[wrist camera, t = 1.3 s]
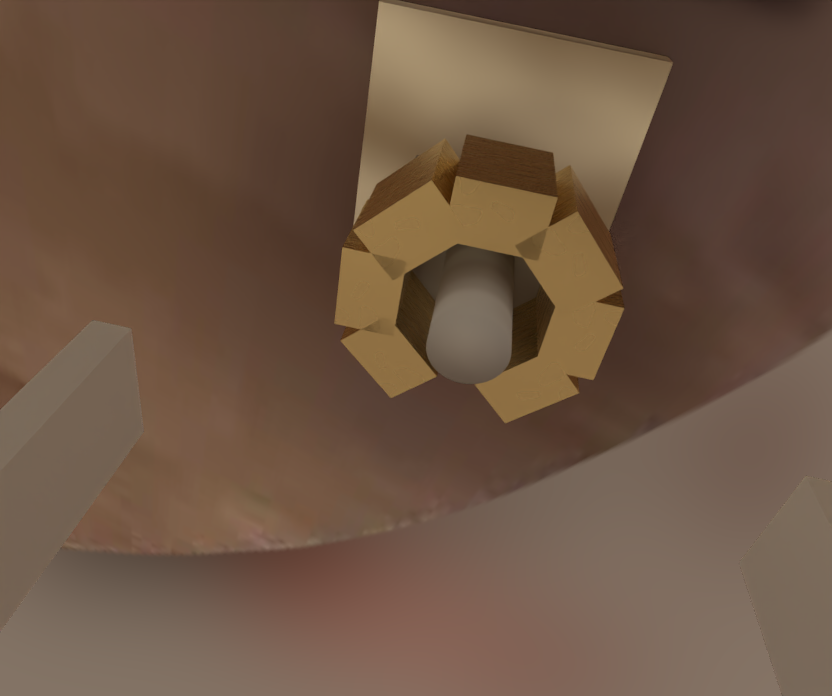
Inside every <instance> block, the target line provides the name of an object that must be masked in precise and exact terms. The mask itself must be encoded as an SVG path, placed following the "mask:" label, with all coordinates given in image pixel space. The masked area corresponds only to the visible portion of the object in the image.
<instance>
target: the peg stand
mask: <svg viewBox="0 0 832 696" xmlns="http://www.w3.org/2000/svg"><path fill="white" fill-rule="evenodd" d="M672 65H673V62H672V61H671V60H670V59H669V58H668V57H667V56H662V55H657V54H653V53H648V52H643V51H638V50H634V49H629V48H624V47H619V46H614V45H610V44H605V43H600V42H595V41H591V40H586V39H581V38H576V37H571V36H567V35H562V34H557V33H552V32H548V31H543V30H538V29H533V28H528V27H524V26H519V25H514V24H509V23H505V22H500V21H495V20H490V19H485V18H481V17H476V16H471V15H466V14H461V13H457V12H452V11H447V10H442V9H438V8H433V7H428V6H423V5H418V4H414V3H409V2H404V1H399V0H380V1H379V6H378V15H377V24H376V33H375V41H374V50H373V59H372V68H371V76H370V85H369V94H368V102H367V111H366V120H365V129H364V137H363V146H362V155H361V164H360V172H359V181H358V190H357V199H356V207H355V216H354V224H355V222H356V220H357V218H358V216H359V214H360V212H361V210H362V208H363V206H364V205H365V203H366V201H367V199H369V198H370V196H371V194H372V192H373V190H374V188H375V186H376V184H377V183H379V182H380V181H382V180H383V179H385V178H386V177H388V176H389V175H391V174H392V173H394V172H395V171H397V170H398V169H400V168H401V167H403V166H404V165H406V164H407V163H409V162H410V161H412V160H413V159H415V158H416V157H418V156H419V155H421V154H422V153H424V152H425V151H427V150H428V149H430V148H431V147H433V146H434V145H436V144H437V143H439V142H440V141H442V140H443V139H445V138H446V140H447V141H448V143H449V144H450V146H451V147H452V149H453V150H454V152H455V153H456V155H457V156H458V158H459V159H460V157H461V153H462V149H463V145H464V141H465V137H466V134H468V135H473V136H477V137H482V138H487V139H491V140H496V141H501V142H506V143H510V144H515V145H520V146H524V147H529V148H534V149H538V150H543V151H548V152H553V154H554V164H555V173H557V172H558V171H560V170H562V169H564V168H565V167H567V166H569V165H571V167H572V169H573V170H574V172H575V174H576V176H577V177H578V179H579V181H580V182H581V184H582V186H583V188H584V189H585V191H586V193H587V195H588V196H589V198H590V200H591V201H592V203H593V205H594V207H595V208H596V210H597V212H598V214H599V215H600V217H601V219H602V220H603V222H604V224H605V226H606V227H607V229H608V231H609V230H610V227H611V224H612V222H613V219H614V217H615V214H616V211H617V209H618V206H619V204H620V201H621V198H622V196H623V193H624V190H625V188H626V185H627V183H628V180H629V177H630V175H631V172H632V169H633V167H634V164H635V162H636V159H637V156H638V154H639V151H640V149H641V146H642V143H643V141H644V138H645V135H646V133H647V130H648V128H649V125H650V122H651V120H652V117H653V114H654V112H655V109H656V107H657V104H658V101H659V99H660V96H661V93H662V91H663V88H664V86H665V83H666V80H667V78H668V75H669V73H670V70H671V67H672ZM353 226H354V225H353ZM412 271H413V272H414V274H415V275H416V276H417V278H418V279H419V280H420V282H421V283H422V284H423V286H424V287H425V288H426V289H427V291H428V292H429V293H430V295H431V296H432V297H433V299H434V300H435V301H436V302H435V307H434V311H433V316H432V320H431V325H430V329H429V334H428V338H427V344H426V352H427V356H428V359H429V361H430V363H431V365H432V366H433V367H434V368H435V370H436V371H437V372H439V373H440V374H441V375H443V376H444V377H446V378H448V379H450V380H452V381H455V382H458V383H463V384H479V383H484V382H487V381H490V380H492V379H494V378H496V377H497V376H499V375H500V374H501V373H502V372H503V371H504V370H505V369H506V367H507V366H508V364H509V361H510V358H511V350H512V320H513V309H514V308H516V307H518V306H520V305H522V304H524V303H526V302H528V301H530V300H532V299H534V298H536V297H537V294H538V290H539V287H540V283H539V281H538V280H537V278H536V277H535V275H534V274H533V272H532V271H531V269H530V268H529V266H528V265H527V263H526V262H525V260H524V259H523V257H518V256H513V255H509V254H504V253H499V252H495V251H490V250H485V249H481V248H476V247H471V246H467V245H462V244H458V243H457V244H456V245H454V246H452V247H450V248H449V249H447V250H445V251H443V252H442V253H440V254H438V255H436V256H435V257H433V258H431V259H429V260H428V261H426V262H424V263H422V264H421V265H419V266H417V267H415V268H414V269H412Z"/></svg>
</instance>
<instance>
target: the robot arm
mask: <svg viewBox="0 0 832 696" xmlns="http://www.w3.org/2000/svg"><path fill="white" fill-rule="evenodd" d="M143 432H144V430H143V421H142V413H141V405H140V396H139V388H138V380H137V371H136V363H135V355H134V346H133V338H132V330H131V328H127V327H122V326H118V325H113V324H109V323H104V322H100V321H95V320H92V321H91V322H90V323H89V324H88V325H87V326H86V327H85V328H84V329H83V330H82V331H81V332H80V333H79V334H78V335H77V336H76V337H75V338H74V339H73V340H72V341H71V342H70V343H68V344H67V345H66V346H65V347H64V348H63V349H62V350H61V351H60V352H59V353H58V354H57V355H56V356H55V357H54V358H53V359H52V360H51V361H50V362H49V363H48V364H47V365H46V366H45V367H44V368H43V369H42V370H41V371H40V372H39V373H38V374H37V375H36V376H35V377H33V378H32V379H31V380H30V381H29V382H28V383H27V384H26V385H25V386H24V387H23V388H22V389H21V390H20V391H19V392H18V393H17V394H16V395H15V396H14V397H13V398H12V399H11V400H10V401H9V402H8V403H7V404H6V405H5V406H4V407H3V408H2V409H1V410H0V632H1V630H2V629H3V627H4V626H5V625H6V623H7V622H8V621H9V619H10V618H11V616H12V615H13V613H14V612H15V611H16V609H17V608H18V607H19V605H20V604H21V602H22V601H23V599H24V598H25V597H26V595H27V594H28V592H29V591H30V590H31V588H32V587H33V586H34V584H35V583H36V581H37V580H38V579H39V577H40V576H41V574H42V573H43V572H44V570H45V569H46V567H47V566H48V565H49V563H50V562H51V560H52V559H53V557H54V556H55V555H56V553H57V552H58V551H59V549H60V548H61V546H62V545H63V544H64V542H65V541H66V540H67V538H68V537H69V535H70V534H71V533H72V531H73V530H74V528H75V527H76V526H77V524H78V523H79V521H80V520H81V519H82V517H83V516H84V514H85V513H86V512H87V510H88V509H89V507H90V506H91V505H92V503H93V502H94V500H95V499H96V498H97V496H98V495H99V493H100V492H101V491H102V489H103V488H104V486H105V485H106V484H107V482H108V481H109V479H110V478H111V477H112V475H113V474H114V472H115V471H116V470H117V468H118V467H119V465H120V464H121V463H122V461H123V460H124V458H125V457H126V456H127V454H128V453H129V452H130V450H131V449H132V447H133V446H134V445H135V443H136V442H137V440H138V439H139V438H140V436H141V435H142V433H143ZM739 565H740V569H741V571H742V575H743V578H744V581H745V584H746V587H747V590H748V593H749V596H750V599H751V602H752V605H753V608H754V611H755V614H756V617H757V620H758V623H759V626H760V629H761V633H762V636H763V639H764V642H765V645H766V648H767V651H768V654H769V657H770V660H771V663H772V666H773V669H774V672H775V675H776V678H777V682H778V685H779V688H780V691H781V694H782V696H832V481H828V480H824V479H819V478H815V477H810V476H805V477H804V479H803V480H802V481H801V483H800V484H799V485H798V486H797V488H796V489H795V490H794V492H793V493H792V494H791V496H790V497H789V498H788V499H787V501H786V502H785V503H784V505H783V506H782V507H781V508H780V510H779V511H778V512H777V514H776V515H775V516H774V518H773V519H772V520H771V521H770V523H769V524H768V525H767V527H766V528H765V529H764V531H763V532H762V533H761V534H760V536H759V537H758V538H757V540H756V541H755V542H754V544H753V545H752V546H751V547H750V549H749V550H748V551H747V553H746V554H745V555H744V557H743V558H742V559H741V560H740V562H739Z"/></svg>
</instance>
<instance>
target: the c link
mask: <svg viewBox="0 0 832 696" xmlns="http://www.w3.org/2000/svg"><path fill="white" fill-rule="evenodd" d="M457 243H458V244H462V245H467V246H471V247H476V248H481V249H485V250H490V251H495V252H499V253H504V254H509V255H513V256H518V257H523V259H524V260H525V262H526V263H527V265H528V266H529V268H530V269H531V271H532V272H533V274H534V275H535V277H536V278H537V280H538V281H539V283H540V287H539V290H538V294H537V297H536V298H534V299H532V300H530V301H528V302H526V303H524V304H522V305H520V306H518V307H516V308H514V309H513V320H512V350H511V358H510V361H509V364H508V366H507V367H506V369H505V370H504V371H503V372H502V373H501V374H500V375H499V376H497V377H496V378H494V379H492V380H490V381H487V382H484V383H479V384H475V386H476V387H477V388H478V390H479V391H480V392H481V393H482V395H483V396H484V397H485V398H486V400H487V401H488V402H489V404H490V405H491V406H492V407H493V409H494V410H495V411H496V412H497V414H498V415H499V416H500V417H501V419H502V420H503V421H504V423H507V422H510V421H512V420H515V419H517V418H519V417H522V416H524V415H527V414H529V413H532V412H534V411H537V410H539V409H541V408H544V407H546V406H549V405H551V404H554V403H556V402H559V401H561V400H563V399H566V398H568V397H571V396H573V395H576V394H578V393H579V385H578V377H581V378H586V379H590V380H594V378H595V375H596V373H597V371H598V368H599V366H600V364H601V361H602V359H603V357H604V354H605V352H606V350H607V348H608V345H609V343H610V341H611V338H612V336H613V334H614V331H615V329H616V327H617V324H618V322H619V320H620V318H621V315H622V313H623V311H624V304H623V300H622V295H621V291H620V290H621V289H623V285H622V281H621V276H620V272H619V268H618V264H617V260H616V256H615V252H614V248H613V243H612V239H611V235H610V233H609V231H608V229H607V227H606V226H605V224H604V222H603V220H602V219H601V217H600V215H599V214H598V212H597V210H596V208H595V207H594V205H593V203H592V201H591V200H590V198H589V196H588V195H587V193H586V191H585V189H584V188H583V186H582V184H581V182H580V181H579V179H578V177H577V176H576V174H575V172H574V170H573V169H572V167H571V165H569V166H567V167H565V168H564V169H562V170H560V171H558V172H557V173H555V164H554V154H553V152H548V151H543V150H538V149H534V148H529V147H524V146H520V145H515V144H510V143H506V142H501V141H496V140H491V139H487V138H482V137H477V136H473V135H468V134H466V137H465V141H464V145H463V149H462V153H461V157H460V159H459V158H458V156H457V155H456V153H455V152H454V150H453V149H452V147H451V146H450V144H449V143H448V141H447V140H446V138H445V139H443V140H442V141H440V142H439V143H437V144H436V145H434V146H433V147H431V148H430V149H428V150H427V151H425V152H424V153H422V154H421V155H419V156H418V157H416V158H415V159H413V160H412V161H410V162H409V163H407V164H406V165H404V166H403V167H401V168H400V169H398V170H397V171H395V172H394V173H392V174H391V175H389V176H388V177H386V178H385V179H383V180H382V181H380V182H379V183H377V184H376V186H375V188H374V190H373V192H372V194H371V196H370V198H369V199H367V201H366V203H365V205H364V206H363V208H362V210H361V212H360V214H359V216H358V218H357V220H356V222H355V224H354V226H353V228H352V230H351V232H350V234H349V236H348V237H347V239H346V241H345V243H344V245H343V247H342V256H341V266H340V275H339V285H338V294H337V304H336V313H335V323H334V324H338V325H343V326H346V328H345V331H344V333H343V336H342V338H341V342H342V343H343V344H344V345H345V347H346V348H347V349H348V350H349V351H350V352H351V353H352V354H353V356H354V357H355V358H356V359H357V360H358V361H359V362H360V364H361V365H362V366H363V367H364V368H365V369H366V370H367V372H368V373H369V374H370V375H371V376H372V377H373V378H374V380H375V381H376V382H377V383H378V384H379V385H380V386H381V388H382V389H383V390H384V391H385V392H386V393H387V394H388V396H389V397H390V398H392V397H395V396H397V395H399V394H401V393H403V392H405V391H407V390H409V389H412V388H414V387H416V386H418V385H420V384H422V383H424V382H426V381H428V380H431V379H433V378H435V377H437V373H438V372H437V371H436V370H435V368H434V367H433V366H432V365H431V363H430V361H429V359H428V356H427V352H426V344H427V338H428V334H429V329H430V325H431V320H432V316H433V311H434V307H435V302H436V301H435V300H434V299H433V297H432V296H431V295H430V293H429V292H428V291H427V289H426V288H425V287H424V286H423V284H422V283H421V282H420V280H419V279H418V278H417V276H416V275H415V274H414V272H413V271H412V269H414V268H415V267H417V266H419V265H421V264H422V263H424V262H426V261H428V260H429V259H431V258H433V257H435V256H436V255H438V254H440V253H442V252H443V251H445V250H447V249H449V248H450V247H452V246H454V245H456V244H457Z"/></svg>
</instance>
